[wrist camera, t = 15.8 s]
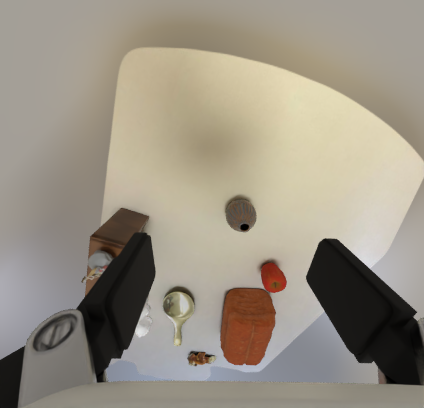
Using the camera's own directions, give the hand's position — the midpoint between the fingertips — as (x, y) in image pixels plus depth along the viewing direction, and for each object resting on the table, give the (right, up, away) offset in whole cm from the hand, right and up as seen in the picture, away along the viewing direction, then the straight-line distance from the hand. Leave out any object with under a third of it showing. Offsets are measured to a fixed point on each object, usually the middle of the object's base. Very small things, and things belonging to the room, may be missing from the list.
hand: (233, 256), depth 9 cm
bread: (+10, -36, +51) cm, 63 cm away
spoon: (-13, -39, +52) cm, 66 cm away
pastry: (-5, -63, +63) cm, 89 cm away
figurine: (-22, -7, +24) cm, 33 cm away
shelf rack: (-24, -7, +37) cm, 44 cm away
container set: (-25, -33, +49) cm, 65 cm away
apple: (+16, -16, +41) cm, 47 cm away
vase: (+5, +2, +33) cm, 33 cm away
